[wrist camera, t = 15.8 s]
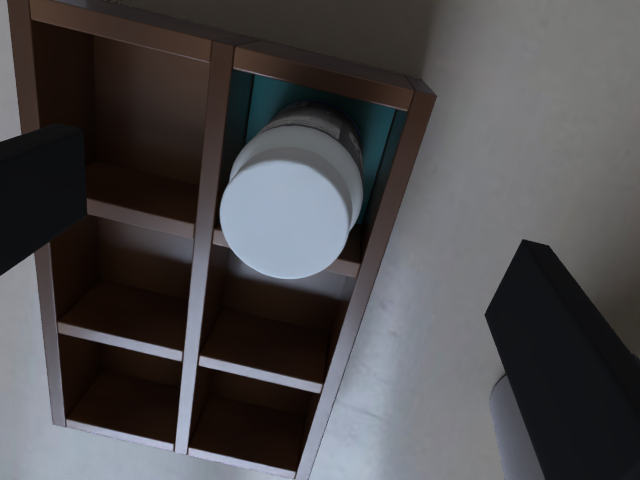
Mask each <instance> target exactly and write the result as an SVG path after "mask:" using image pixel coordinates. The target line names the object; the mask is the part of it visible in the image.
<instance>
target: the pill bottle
mask: <svg viewBox="0 0 640 480" xmlns="http://www.w3.org/2000/svg"><path fill="white" fill-rule="evenodd" d="M363 166H364V165H363V143H362V138H361V135H360V132H359V130H358V128H357V126H356V124H355V123H354V121H353V120H352V119H351V118H350V116H349V115H348V114H347V113H346V112H344V111H343V110H342V109H341V108H339V107H337V106H336V105H334V104H331V103H329V102H326V101H321V100H302V101H298V102H295V103H292V104H290V105H288V106H286V107H285V108H283V109H282V110H280V111H279V112H278V113H277V114H276V115H275V116H274V117H273V118H272V119H271V120H270V121H269V122H268V123H267V124H266V125H265V126H264V127H263V128H262V129H261V130H260V131H259V133H258V134H257V135H256V136H255V137H254V138H253V139H252V140H251V141H249V142H248V143H247V145H246V146H245V147H244V148H243V149H242V150H241V152H240V153H239V155H238V156H237V158H236V160H235V162H234V163H233V167H232V170H231V174H230V180H229V183H228V185H227V187H226V189H225V191H224V194H223V197H222V200H221V205H220V223H221V228H222V231H223V234H224V237H225V239H226V241H227V243H228V245H229V246H230V248H231V249H232V250H233V252H234V253H235V254H236V255H237V256H238V257H239V258H240V259H241V260H242V261H243V262H244V263H245V264H246V265H248V266H249V267H251V268H253V269H254V270H256V271H258V272H260V273H262V274H265V275H268V276H271V277H276V278H282V279H298V278H304V277H308V276H311V275H314V274H316V273H318V272H320V271H322V270H324V269H325V268H327V267H328V266H329V265H331V264H332V263H333V261H334V260H335V259H336V258H337V257H338V256H339V254H340V253H341V252H342V250H343V248H344V246H345V244H346V241H347V238H348V235H349V231H350V230H351V229H352V227H353V226H354V224H355V222H356V220H357V218H358V216H359V213H360V210H361V205H362V201H363Z"/></svg>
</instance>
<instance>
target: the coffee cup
mask: <svg viewBox="0 0 640 480" xmlns="http://www.w3.org/2000/svg"><path fill="white" fill-rule="evenodd" d="M490 410H491V415H492V420H493V425H494V429H495V434H496V439H497V444H498V448H499V453H500V458H501V462H502V467H503V472H504V477H505V480H545V478H544V475H543V472H542V470H541V467H540V464H539V462H538V459H537V456H536V453H535V451H534V448H533V445H532V443H531V440H530V437H529V434H528V432H527V429H526V426H525V424H524V421H523V418H522V415H521V413H520V410H519V407H518V404H517V402H516V399H515V396H514V394H513V391H512V388H511V385H510V383H509V380H508V377H507V375H506V376H504V377H503V378H502V379H501V380H500V381H499V382H498V383H497V385H496V386H495V388H494V389H493V391H492V393H491V397H490Z"/></svg>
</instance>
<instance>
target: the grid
mask: <svg viewBox="0 0 640 480" xmlns="http://www.w3.org/2000/svg"><path fill="white" fill-rule="evenodd" d="M7 4H8V13H9V22H10V32H11V41H12V50H13V59H14V69H15V78H16V87H17V97H18V106H19V115H20V125H21V134H22V135H23V134H26V133H29V132H32V131H35V130H38V129H41V128H44V127H47V126H50V125H53V124H56V123H60V124H64V125H68V126H72V127H76V128H80V129H84V148H85V172H86V195H87V216H86V217H85V218H83V219H82V220H80V221H79V222H77V223H76V224H75V225H73V226H72V227H70V228H69V229H67V230H66V231H64V232H63V233H62V234H60V235H59V236H57V237H56V238H54V239H53V240H51V241H50V242H49V243H47V244H46V245H44V246H43V247H41V248H40V249H38V250H37V251H35V252H34V255H35V264H36V273H37V283H38V292H39V301H40V311H41V320H42V329H43V339H44V348H45V357H46V367H47V376H48V385H49V394H50V404H51V413H52V422H53V425H57V426H62V427H68V428H72V429H76V430H81V431H85V432H89V433H94V434H98V435H102V436H107V437H111V438H115V439H120V440H124V441H129V442H133V443H137V444H142V445H146V446H150V447H155V448H159V449H163V450H168V451H172V452H175V453H180V454H184V455H187V454H188V455H189V456H193V457H197V458H202V459H206V460H211V461H215V462H219V463H224V464H228V465H232V466H237V467H241V468H245V469H250V470H254V471H258V472H263V473H267V474H272V475H276V476H280V477H285V478H289V479H295V480H308V479H309V476H310V473H311V470H312V467H313V464H314V461H315V458H316V455H317V452H318V449H319V446H320V443H321V441H322V438H323V435H324V432H325V429H326V426H327V423H328V420H329V417H330V414H331V411H332V408H333V405H334V402H335V399H336V396H337V393H338V390H339V387H340V384H341V381H342V378H343V375H344V372H345V369H346V366H347V363H348V360H349V357H350V354H351V351H352V348H353V345H354V342H355V339H356V336H357V333H358V330H359V327H360V324H361V321H362V318H363V315H364V312H365V309H366V306H367V303H368V300H369V297H370V294H371V291H372V288H373V285H374V282H375V279H376V276H377V273H378V271H379V268H380V265H381V262H382V259H383V256H384V253H385V250H386V247H387V244H388V241H389V238H390V235H391V232H392V229H393V226H394V223H395V220H396V217H397V214H398V211H399V208H400V205H401V202H402V199H403V196H404V193H405V190H406V187H407V184H408V181H409V178H410V175H411V172H412V169H413V166H414V163H415V160H416V157H417V154H418V151H419V148H420V145H421V142H422V139H423V136H424V133H425V130H426V127H427V124H428V121H429V118H430V115H431V112H432V109H433V106H434V103H435V101H436V98H437V95H436V94H435V93H434V92H433V91H432V90H431V89H430V88H429V87H428V86H427V84H426V83H425V82H424V81H423V80H422V79H419V78H415V77H411V76H407V75H403V74H399V73H395V72H391V71H387V70H383V69H379V68H375V67H371V66H367V65H363V64H359V63H355V62H351V61H347V60H343V59H339V58H335V57H331V56H327V55H323V54H319V53H314V52H310V51H306V50H302V49H298V48H294V47H290V46H286V45H282V44H278V43H274V42H270V41H266V40H262V39H258V38H254V37H250V36H246V35H242V34H238V33H234V32H230V31H226V30H222V29H218V28H214V27H210V26H206V25H201V24H197V23H193V22H189V21H185V20H181V19H177V18H173V17H169V16H165V15H161V14H157V13H153V12H149V11H145V10H141V9H137V8H133V7H129V6H125V5H121V4H117V3H113V2H109V1H105V0H7ZM302 100H321V101H326V102H329V103H331V104H334V105H336V106H337V107H339V108H341V109H342V110H343V111H344V112H346V113H347V114H348V115H349V116H350V118H351V119H352V120H353V121H354V123H355V124H356V126H357V128H358V130H359V132H360V135H361V138H362V143H363V165H364V166H363V201H362V205H361V210H360V213H359V216H358V218H357V220H356V222H355V224H354V226H353V227H352V229H351V230H350V231H349V235H348V238H347V241H346V244H345V246H344V248H343V250H342V252H341V253H340V254H339V256H338V257H337V258H336V259H335V260H334V261H333V263H332V264H331V265H329V266H328V267H327V268H325V269H324V270H322V271H320V272H318V273H316V274H314V275H311V276H308V277H304V278H298V279H282V278H276V277H271V276H268V275H265V274H262V273H260V272H258V271H256V270H254V269H253V268H251V267H249V266H248V265H246V264H245V263H244V262H243V261H242V260H241V259H240V258H239V257H238V256H237V255H236V254H235V253H234V252H233V250H232V249H231V248H230V246H229V245H228V243H227V241H226V239H225V237H224V234H223V231H222V228H221V223H220V205H221V200H222V197H223V194H224V191H225V189H226V187H227V185H228V183H229V180H230V174H231V170H232V167H233V163H234V162H235V160H236V158H237V156H238V155H239V153H240V152H241V150H242V149H243V148H244V147H245V146H246V145H247V143H248V142H249V141H251V140H252V139H253V138H254V137H255V136H256V135H257V134H258V133H259V131H260V130H261V129H262V128H263V127H264V126H265V125H266V124H267V123H268V122H269V121H270V120H271V119H272V118H273V117H274V116H275V115H276V114H277V113H278V112H279V111H280V110H282V109H283V108H285V107H286V106H288V105H290V104H292V103H295V102H298V101H302Z"/></svg>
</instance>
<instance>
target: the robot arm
mask: <svg viewBox="0 0 640 480" xmlns="http://www.w3.org/2000/svg"><path fill="white" fill-rule="evenodd" d="M86 216H87V195H86V172H85V148H84V129H80V128H76V127H72V126H68V125H64V124H60V123H56V124H53V125H50V126H47V127H44V128H41V129H38V130H35V131H32V132H29V133H26V134H23V135H20V136H17V137H14V138H11V139H8V140H5V141H2V142H0V276H1V275H2V274H4V273H5V272H7V271H8V270H9V269H11V268H12V267H14V266H15V265H17V264H18V263H20V262H21V261H22V260H24V259H25V258H27V257H28V256H30V255H31V254H33V253H34V252H35V251H37V250H38V249H40V248H41V247H43V246H44V245H46V244H47V243H49V242H50V241H51V240H53V239H54V238H56V237H57V236H59V235H60V234H62V233H63V232H64V231H66V230H67V229H69V228H70V227H72V226H73V225H75V224H76V223H77V222H79V221H80V220H82V219H83V218H85V217H86ZM485 317H486V320H487V323H488V326H489V328H490V331H491V334H492V337H493V339H494V342H495V345H496V347H497V350H498V353H499V356H500V358H501V361H502V364H503V366H504V369H505V372H506V375H507V377H508V380H509V383H510V385H511V388H512V391H513V394H514V396H515V399H516V402H517V404H518V407H519V410H520V413H521V415H522V418H523V421H524V424H525V426H526V429H527V432H528V434H529V437H530V440H531V443H532V445H533V448H534V451H535V453H536V456H537V459H538V462H539V464H540V467H541V470H542V472H543V475H544V478H545V480H640V359H639V358H638V357H636V356H635V355H634V354H631V353H630V352H629V350H628V349H627V348H626V346H625V345H624V344H623V342H622V341H621V340H620V338H619V337H618V336H617V335H616V333H615V332H614V331H613V329H612V328H611V327H610V325H609V324H608V323H607V321H606V320H605V319H604V317H603V316H602V315H601V313H600V312H599V311H598V310H597V308H596V307H595V306H594V304H593V303H592V302H591V300H590V299H589V298H588V296H587V295H586V294H585V292H584V291H583V290H582V288H581V287H580V286H579V285H578V283H577V282H576V281H575V279H574V278H573V277H572V275H571V274H570V273H569V271H568V270H567V269H566V267H565V266H564V265H563V264H562V262H561V261H560V260H559V258H558V257H557V256H556V254H555V253H554V252H553V250H552V249H551V248H550V246H548V245H544V244H540V243H536V242H532V241H528V240H524V239H523V240H522V242H521V244H520V245H519V247H518V249H517V251H516V253H515V255H514V257H513V259H512V261H511V263H510V265H509V267H508V269H507V271H506V273H505V275H504V277H503V279H502V281H501V283H500V285H499V287H498V289H497V291H496V293H495V295H494V297H493V299H492V301H491V303H490V305H489V307H488V309H487V311H486V313H485Z"/></svg>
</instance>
